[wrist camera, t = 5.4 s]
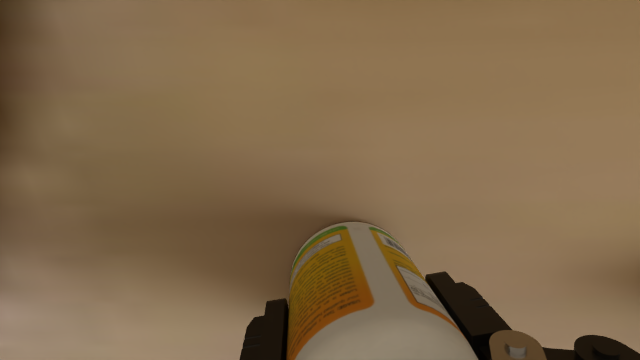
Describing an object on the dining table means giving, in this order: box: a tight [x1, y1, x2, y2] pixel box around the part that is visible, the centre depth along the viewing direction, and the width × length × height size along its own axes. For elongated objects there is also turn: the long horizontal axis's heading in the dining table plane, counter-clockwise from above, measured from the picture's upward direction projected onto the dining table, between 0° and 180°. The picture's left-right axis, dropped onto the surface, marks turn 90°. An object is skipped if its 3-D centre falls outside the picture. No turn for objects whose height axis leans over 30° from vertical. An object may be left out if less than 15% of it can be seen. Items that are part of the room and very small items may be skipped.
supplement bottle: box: [286, 222, 478, 360], centre depth 11 cm, size 5×5×10 cm
